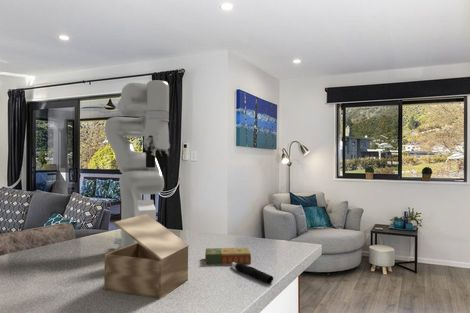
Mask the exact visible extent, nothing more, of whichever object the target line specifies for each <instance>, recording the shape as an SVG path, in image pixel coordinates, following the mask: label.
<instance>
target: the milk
mask: <svg viewBox="0 0 470 313" xmlns="http://www.w3.org/2000/svg"><path fill="white" fill-rule="evenodd" d="M154 202H155V201H154V199H142V200H138V201H137V206H136V208H135V217H136V216H140V215H144V214H148V215H149V216H150V217H152V218H153V219H154V220H156V221H157V209H156V207H155V203H154ZM135 243H137V242H136V241H135Z"/></svg>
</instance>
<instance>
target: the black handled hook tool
mask: <svg viewBox="0 0 470 313" xmlns="http://www.w3.org/2000/svg"><path fill="white" fill-rule="evenodd" d="M231 266H232V267H233V268H235V270H236V271H237V272H238V273H241V274H243V275H245V276H248V277H250V278H252V279H255V280H256V281H257V280H258V281H259V282H261V283H264V284H267V285H268V284H269V285H270V284H271V283H272V282H273V281H274V276H273V275H271V274H268V273H266V272H264V271H261V270H259V269H257V268H255V267H252V266H251V265H250V266H248V264H241V263H237V264H236V263H235V262H233V263H232V264H231Z"/></svg>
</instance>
